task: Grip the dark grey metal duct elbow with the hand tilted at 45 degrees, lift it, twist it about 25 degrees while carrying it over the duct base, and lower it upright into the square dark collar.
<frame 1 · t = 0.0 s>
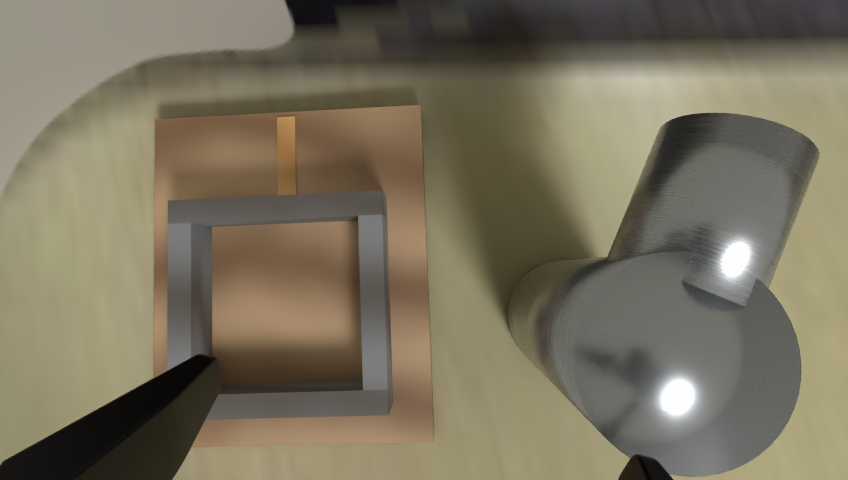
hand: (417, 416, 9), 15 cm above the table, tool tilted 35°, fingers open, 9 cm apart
duct base: (295, 300, 24), on the table
duct elbow: (562, 315, 24), on the table
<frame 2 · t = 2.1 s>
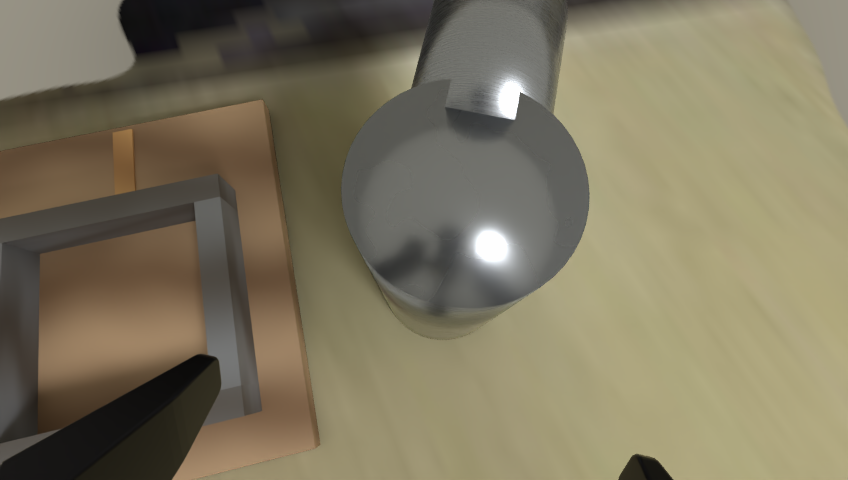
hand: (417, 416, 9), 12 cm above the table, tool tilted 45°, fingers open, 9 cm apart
duct base: (145, 321, 21), on the table
duct elbow: (442, 279, 22), on the table
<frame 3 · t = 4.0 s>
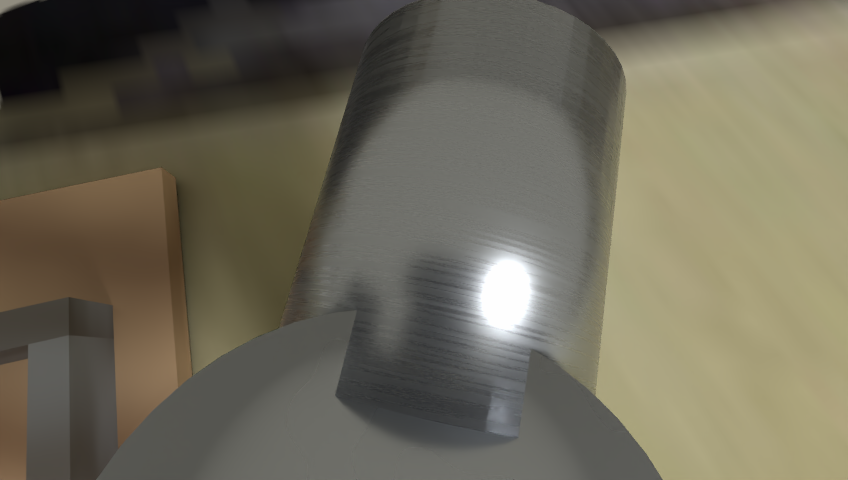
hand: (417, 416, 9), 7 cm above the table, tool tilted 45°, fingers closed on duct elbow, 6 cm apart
duct elbow: (411, 435, 15), on the table, touching gripper
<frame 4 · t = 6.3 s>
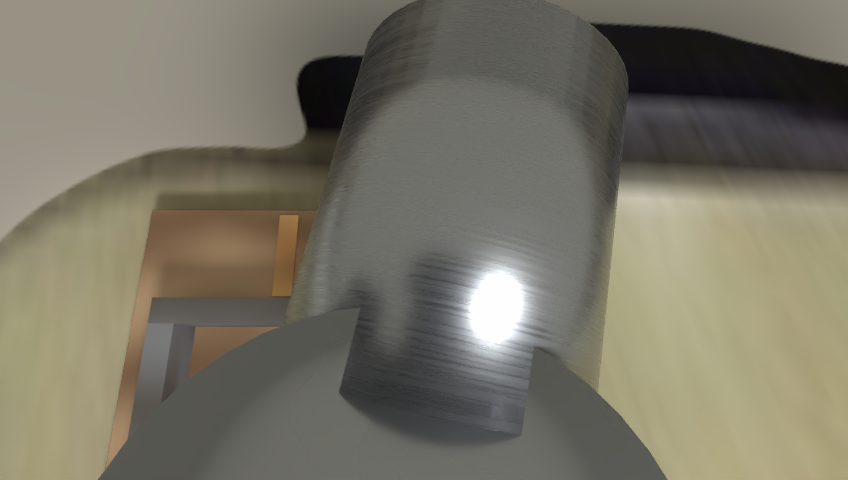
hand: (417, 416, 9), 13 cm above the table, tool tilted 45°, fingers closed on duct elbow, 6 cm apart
duct base: (277, 414, 22), on the table
duct elbow: (412, 435, 15), point 7 cm above the table, touching gripper
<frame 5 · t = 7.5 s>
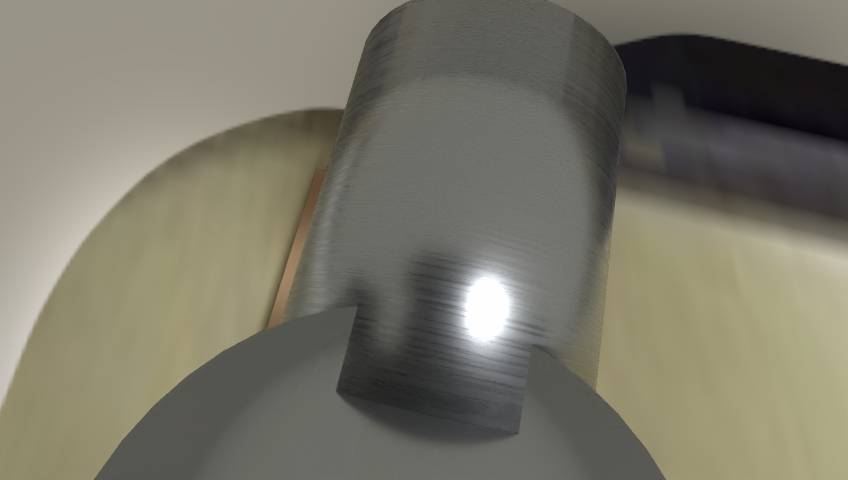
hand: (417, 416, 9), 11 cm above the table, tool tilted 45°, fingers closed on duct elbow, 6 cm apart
duct base: (415, 414, 20), on the table
duct elbow: (411, 434, 15), point 5 cm above the table, touching gripper
when the fingers open (9 cm above the table, at t = 8.5 s): duct elbow drops 1 cm, resting on duct base.
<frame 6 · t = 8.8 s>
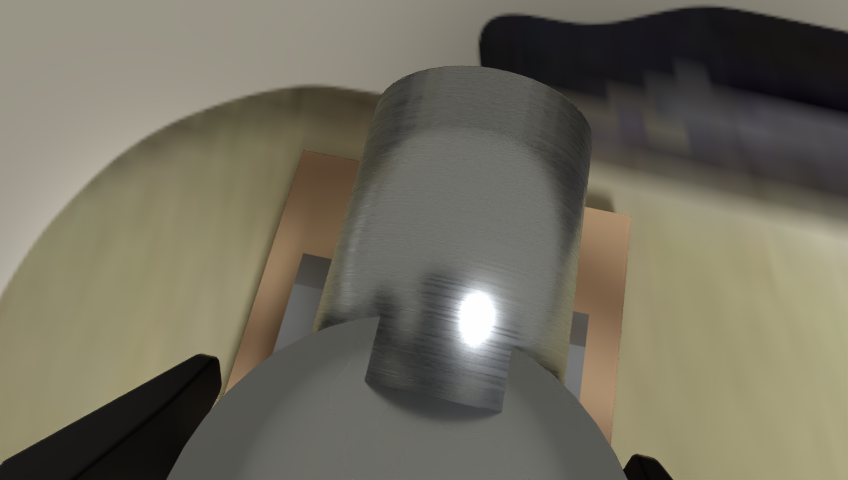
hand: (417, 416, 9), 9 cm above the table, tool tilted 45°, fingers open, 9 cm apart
duct base: (413, 425, 18), on the table
duct elbow: (411, 433, 16), point 1 cm above the table, touching duct base
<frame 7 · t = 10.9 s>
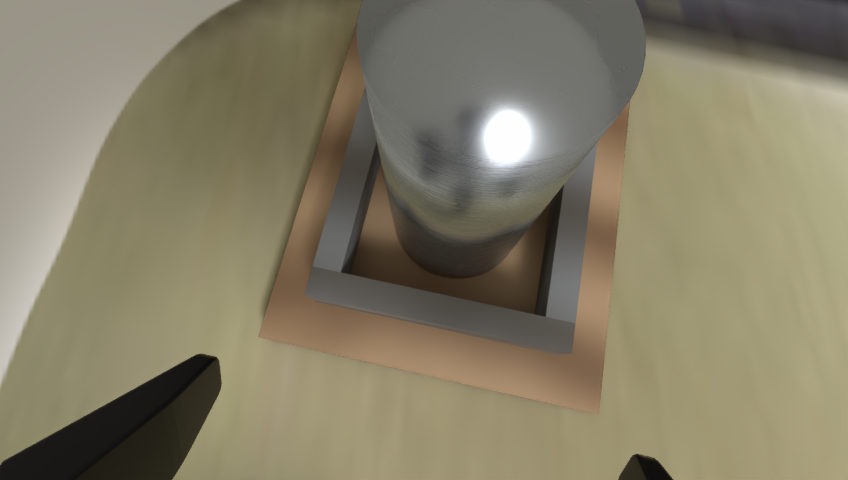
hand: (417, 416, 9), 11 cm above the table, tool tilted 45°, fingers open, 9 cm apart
duct base: (456, 220, 22), on the table
duct elbow: (456, 216, 21), point 1 cm above the table, touching duct base
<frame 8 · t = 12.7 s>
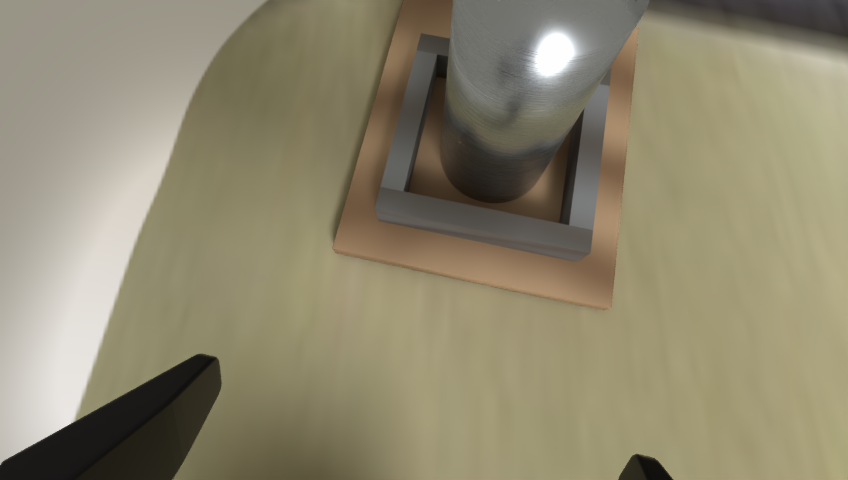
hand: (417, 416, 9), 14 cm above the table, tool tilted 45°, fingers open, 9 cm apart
duct base: (490, 160, 26), on the table
duct elbow: (492, 154, 25), point 1 cm above the table, touching duct base
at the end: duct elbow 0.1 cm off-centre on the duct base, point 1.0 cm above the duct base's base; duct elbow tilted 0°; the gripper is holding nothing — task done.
